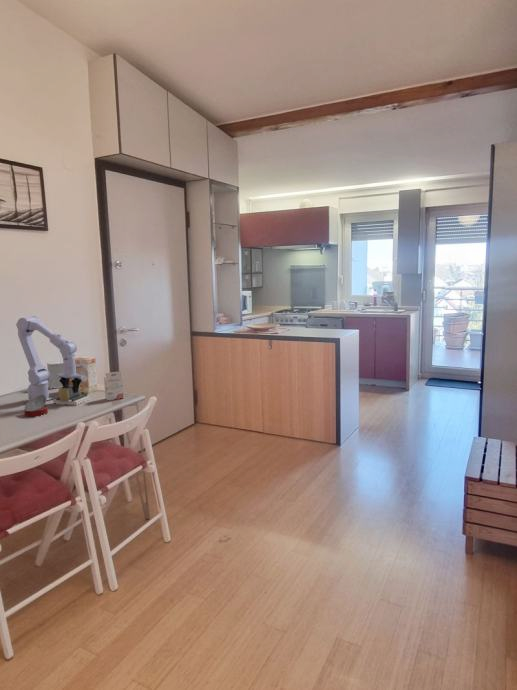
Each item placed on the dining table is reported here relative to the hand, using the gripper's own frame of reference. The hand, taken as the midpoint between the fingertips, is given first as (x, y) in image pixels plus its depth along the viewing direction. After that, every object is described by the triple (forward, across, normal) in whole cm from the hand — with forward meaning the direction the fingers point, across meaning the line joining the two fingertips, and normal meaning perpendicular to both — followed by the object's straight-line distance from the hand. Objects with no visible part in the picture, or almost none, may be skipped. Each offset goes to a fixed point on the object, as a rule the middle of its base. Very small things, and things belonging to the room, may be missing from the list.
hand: (71, 392), depth 233 cm
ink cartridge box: (+5, +18, +10) cm, 22 cm away
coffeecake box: (+5, -9, +20) cm, 23 cm away
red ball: (+6, -2, -22) cm, 23 cm away
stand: (+5, 0, 0) cm, 5 cm away
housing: (+3, 0, -1) cm, 3 cm away
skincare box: (+5, -30, +24) cm, 39 cm away
